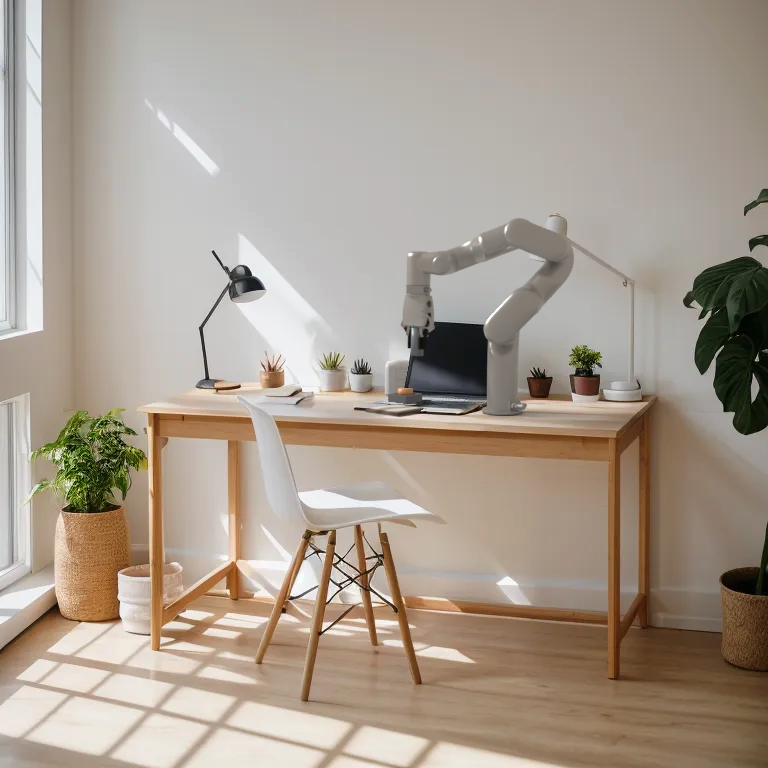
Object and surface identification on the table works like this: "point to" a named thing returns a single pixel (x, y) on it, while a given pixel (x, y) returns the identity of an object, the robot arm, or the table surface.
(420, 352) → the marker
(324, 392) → the table surface
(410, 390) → the button
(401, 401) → the button housing
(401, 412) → the board
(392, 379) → the photo printer
